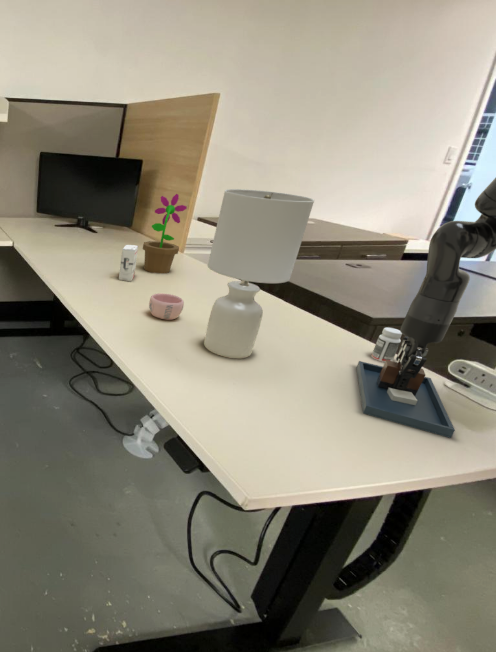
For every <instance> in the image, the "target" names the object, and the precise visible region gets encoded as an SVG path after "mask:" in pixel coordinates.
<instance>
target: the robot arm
mask: <svg viewBox="0 0 496 652" xmlns="http://www.w3.org/2000/svg"><path fill="white" fill-rule="evenodd" d="M474 208H475V210H476V211H477V212H478V213H480V216H479V217H478V218H477V219H476V220H475V221H465V220H451V221H448V222H446V223H443V224H442V225H440V226H439V227H438V228H437V229H436V230H435V232H434V233H433V234H432V236H431V238H430V241H429V246H428V253H427V262H426V272H425V276H424V277H423V280H422V282H421V285H420V287H419V289H418V291H417V293H416V295H415V296H414V298H413V300H412V301H411V303H410V306H409V308H408V310H407V312H406V314H405V317H404V319H403V321H402V324H401V326H400V328H399V330H400V332H401V333H402V335H403V337H402V340H401V343H400V344H401V345H400V346H399V350H398V352H397V353H398V354H397V356H396V357H395V362H397V363H401V364H402V365H401V367H400V370H399V371H398V375H397V378H396V380H395V382H394V384H393V389H398V390H403V391H404V390H405V389H406V386H407V384H408V382H409V380H410V378H415V377H416V375H417V374H418V372H419V371H420V369H421V368H422V369H423V366H424V365H425V364H426V362H427V357H426V356H427V354H428V352H429V348H427V347H428V344H431V343H433V344H438V343H441V342H442V341H443V340H444V338H445V336H446V334H447V333H448V330H449V328H450V326H451V323H452V322H453V320H454V318H455V316H456V314H457V311H458V309H459V305H460V302H461V300H462V298H463V296H464V294H465V292H466V289H467V288H468V285H469V283H470V280H471V276H470V274H469V273H468V272H467V271H465V270H464V269H463V270H462V269H460V262H461V259H480V258H483V257H486V256H488V255H489V254H491V253H493V252H494V251H496V177H495V178H493V180H492V181H491V182H490V183H489V184H488V185H487V186H486V187H485V189H484V190H482V192H481V193H480V194H479V195H478V197H476V199H475V202H474ZM408 369H410V370H411V372H410V371H407V370H408Z"/></svg>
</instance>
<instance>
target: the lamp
mask: <svg viewBox="0 0 496 652" xmlns="http://www.w3.org/2000/svg"><path fill="white" fill-rule="evenodd" d="M314 203H315V199H313V198H312V197H308V196H303V195H297V194H291V193H285V192H277V191H268V190H257V189H245V188H244V189H241V188H229V189H228V188H227V189H225V190H224V193H223V197H222V202H221V205H220V210H219V215H218V219H217V223H216V228H215V232H214V236H213V240H212V245H211V249H210V252H209V259H208V261H207V268H208V269H209V270H210V271H212V272H214V273H216V274H218V275H221V276H225V277H226V278H227V277H228V278H231V279H235V280H232V281H229V282H227V288H228V293H227V294H226V295H222V296H220V297H218V298H216V300H214V302H213V305H212V307H211V310H210V314H209V317H208V321H207V324H206V325H207V326H206V329H205V335H204V341H203V345H204V347H205V349H206V350H208V352H211V353H213V354H215V355H216V356H217V355H218V356H219V357H224V358H229V359H246V358H248V357H250V356H251V355H252V352H253V349H254V346H255V344H256V340H257V338H258V334H259V331H260V327H261V324H262V321H263V314H264V313H263V311H264V310H263V307H262V306H261V304H259V303H258V302H257V301H256V299H255V296H256V295H257V294H258V293H259V292H260V291H261V288H260V287H259V286H258V285H257V284H254V283H258V284H259V283H260V284H282V283H283V284H284V283H287V282H289V281H290V280H291V277H292V274H293V272H294V271H293V270H294V267H295V264H296V261H297V258H298V255H299V251H300V249H301V245H302V242H303V239H304V235H305V233H306V229H307V226H308V222H309V219H310V216H311V212H312V210H313V206H314Z"/></svg>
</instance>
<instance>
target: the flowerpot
mask: <svg viewBox="0 0 496 652" xmlns="http://www.w3.org/2000/svg"><path fill="white" fill-rule="evenodd" d="M179 196H180V195H179V194H178V193H176V194H174V195H173V196H172V198H171V200H170V201H169V200H168V198H167V197H166V196H164V195H161V197H160V202H161V204H162V205H163V206H164V207H158V208H156V209H154V213H155V214H157V215H162V214H164V216H163V218H162V220H161V221H162V222H161V223H160V222H155V223H154V224H152V225H151V228H152V229H153V230H154V231H155V232H162V233H161V238H160V241H158V240H157V241H154V240H153V241H152V240H151V241H150V240H149V241H143V244H142V250H143V251H144V263H143V266H144V267H143V270H145V272H148V273H153V274H167V273H170V270H171V267H172V265H173V262H174V259H175V255H178V254H179V252H180V251H179V250H180V246H178V245H176V244H174V243H170V242H166V241H174V240H175V238H174V237H173V236H172V235H169V234H165V233H166V228H167V224H168V223H169V221H170V219H171V218H172V220H173V221H174V223H176V224H180V223H181V217H180V216H179V214H178V213H176V212H179V213H180V212H183V211H185V210H187V206H188V205H187V206H186V205H184V204H180V205H177V204H178V201H179V199H180V198H179ZM175 205H176V206H175ZM165 207H166V208H165Z"/></svg>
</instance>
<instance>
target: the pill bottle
mask: <svg viewBox="0 0 496 652" xmlns="http://www.w3.org/2000/svg"><path fill="white" fill-rule="evenodd" d="M402 335H403V334H402V333H401V332H400V329H397V328H394V327H383V329H382V332H381V334H380V335H379V336H378V338H377V340H376V343H375V345H374V348H373V350H372V353H371V358H372V359H374V360H376V361H379V362H383V363H385V361H386V360H389V361H393V362H394V359H395V356H396V354H397V353H398V349H399V348H400V346H401V345H400V344H401V343H402V340H401V337H402Z"/></svg>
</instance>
